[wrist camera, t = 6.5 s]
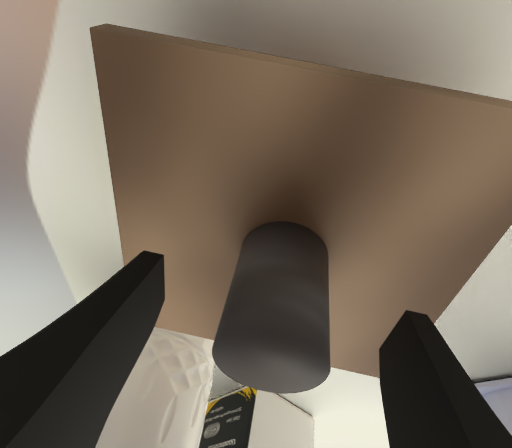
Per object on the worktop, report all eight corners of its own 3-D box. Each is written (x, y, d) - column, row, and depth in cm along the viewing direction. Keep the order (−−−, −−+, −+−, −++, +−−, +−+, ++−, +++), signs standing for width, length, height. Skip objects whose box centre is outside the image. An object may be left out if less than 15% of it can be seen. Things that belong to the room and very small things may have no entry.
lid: (570, 112, 8) (776, 229, 5) (386, 363, 16) (406, 488, 12) (106, 23, 9) (-58, 62, 5) (139, 308, 16) (83, 411, 12)
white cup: (122, 341, 27) (39, 495, 19) (126, 279, 22) (17, 450, 14) (216, 370, 27) (172, 533, 19) (240, 315, 22) (195, 501, 15)
